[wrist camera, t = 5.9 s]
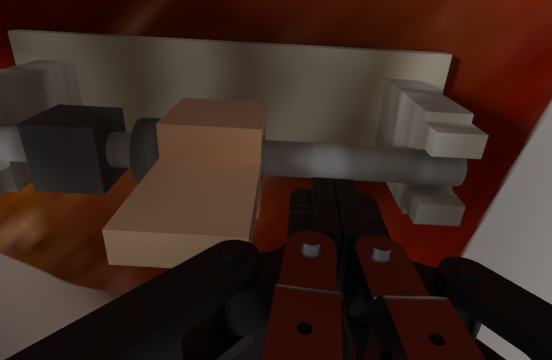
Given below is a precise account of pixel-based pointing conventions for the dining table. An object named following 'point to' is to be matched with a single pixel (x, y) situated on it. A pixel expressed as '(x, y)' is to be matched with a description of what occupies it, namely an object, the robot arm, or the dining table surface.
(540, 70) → the dining table surface
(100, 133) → the grey rail mechanism
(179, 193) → the tan stepped block
